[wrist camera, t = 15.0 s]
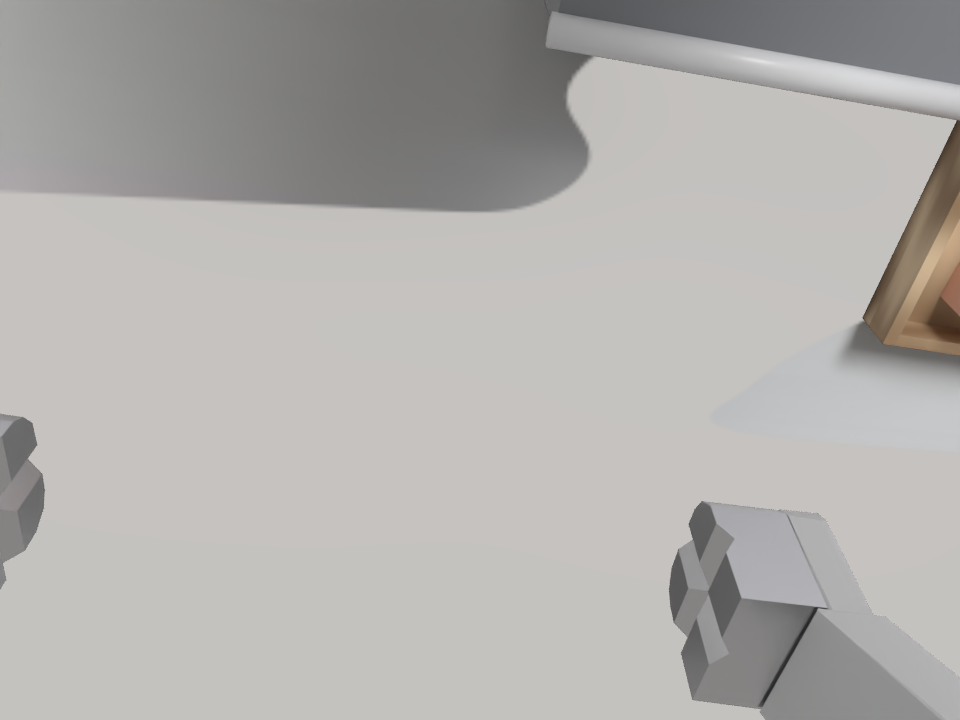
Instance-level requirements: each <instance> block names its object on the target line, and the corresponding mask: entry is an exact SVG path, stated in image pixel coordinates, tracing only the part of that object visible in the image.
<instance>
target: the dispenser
mask: <svg viewBox="0 0 960 720" xmlns="http://www.w3.org/2000/svg"><path fill="white" fill-rule="evenodd" d="M545 5H546V8H547V10H548V13H549V16H550V19H549V24H548V29H547V35H546V44H545V46H546V48H551V49H557V50H563V51H568V52H574V53H580V54H585V55H591V56H597V57H602V58H608V59H614V60H619V61H625V62H631V63H637V64H642V65H648V66H653V67H659V68H665V69H671V70H676V71H682V72H688V73H693V74H699V75H704V76H710V77H716V78H721V79H727V80H733V81H739V82H744V83H750V84H756V85H761V86H768V87H773V88H779V89H784V90H790V91H795V92H801V93H807V94H813V95H818V96H823V97H830V98H835V99H840V100H846V101H852V102H857V103H863V104H868V105H874V106H880V107H885V108H891V109H897V110H902V111H908V112H914V113H919V114H925V115H931V116H936V117H942V118H948V119H954V120H959V121H960V0H545Z"/></svg>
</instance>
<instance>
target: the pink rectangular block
mask: <svg viewBox="0 0 960 720" xmlns="http://www.w3.org/2000/svg"><path fill="white" fill-rule="evenodd" d="M940 297H941V298H942V299H943V300H944V301H945V302H946V303H947V304H948V305H949V306H950V307H951V308H952V309H953V310H954V311H955V312H956V313H957V314H958V315H959V316H960V261H959V263H958V265H957V267H956V268H955V270H954V272H953V274H952V275H951V277H950V279H949V281H948V283H947V284H946V286H945V288H944V290H943V291H942V293H941V295H940Z"/></svg>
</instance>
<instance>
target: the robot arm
mask: <svg viewBox="0 0 960 720" xmlns="http://www.w3.org/2000/svg"><path fill="white" fill-rule="evenodd" d="M36 446H37V442H36V437H35V433H34V428H33V424H32V423H31V422H30V421H28V420H27V419H25V418H23V417H17V416H11V415H4V414H0V589H1V587H2V586H3V584H4V582H5V581H6V576H5V572H4V567H3V563H4V562H5V561H7V560H9V559H11V558H12V557H14V556H16V555H18V554H20V553H21V552H23V551H25V549H26V548H27V546H28V544H29V543H30V541H31V539H32V538H33V536H34V534H35V533H36V530H37V527H38V524H39V521H40V518H41V515H42V512H43V508H44V492H45V489H44V483H43V476H42V473H41V472H40V471H39V470H38V469H37V468H36V467H35V466H34V465H33V464H32V463H31V462H30V461H29V460H28V457H29V456H30V454H31V453H32V452H33V450H34V449H35V447H36ZM689 527H690V530H691V534H692V538H693V540H692V541H690V542H689V543H687V544H686V545H684V546H683V547H681V548H680V549H678V552H677V555H676V558H675V560H674V563H673V566H672V571H671V578H670V587H669V594H670V607H671V611H672V615H673V621H674V623H675V624H676V625H677V626H678V628H680V630H681V631H682V632H683V633H684V634H685V635H686V636H687V637H688V638H687V640H686V643H685V645H684V647H683V650H682V652H681V655H682V659H683V663H684V667H685V671H686V675H687V679H688V683H689V688H690V691H691V696H692V700H697V701H704V702H712V703H719V704H726V705H734V706H742V707H749V708H758V709H761V711H760V713H761V715H762V716H763V717H764V718H765V720H960V677H959V676H957V675H956V674H955V673H954V672H953V671H951V670H950V669H949V668H948V667H946V666H945V665H944V664H943V663H942V662H940V661H939V660H938V659H937V658H935V657H934V656H933V655H932V654H931V653H929V652H928V651H927V650H926V649H924V648H923V647H922V646H921V645H920V644H918V643H917V642H916V641H915V640H913V639H912V638H911V637H910V636H908V635H907V634H906V633H905V632H904V631H902V630H901V629H900V628H899V627H897V626H896V625H895V624H894V623H893V622H891V621H890V620H889V619H888V618H886V617H884V616H877V615H873V613H872V611H871V609H870V607H869V605H868V603H867V601H866V599H865V597H864V595H863V593H862V591H861V589H860V587H859V585H858V583H857V581H856V579H855V577H854V575H853V573H852V571H851V569H850V567H849V565H848V563H847V561H846V559H845V557H844V555H843V553H842V551H841V549H840V547H839V545H838V543H837V541H836V539H835V537H834V535H833V533H832V531H831V529H830V527H829V525H828V523H827V521H826V520H825V519H824V518H823V517H822V516H821V515H819V514H818V513H808V512H798V511H789V510H778V511H777V510H772V509H763V508H755V507H746V506H737V505H729V504H721V503H712V502H703V501H702V502H701V503H700V504H699V505H698V506H697V507H696V509H695V510H694V513H693V515H692V517H691V520H690V522H689Z"/></svg>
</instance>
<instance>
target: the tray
mask: <svg viewBox="0 0 960 720" xmlns="http://www.w3.org/2000/svg"><path fill="white" fill-rule="evenodd" d="M959 261H960V121H959V120H957V122H956V124H955V126H954V128H953V130H952V132H951V134H950V136H949V138H948V140H947V143H946V145H945V147H944V149H943V151H942V153H941V155H940V157H939V159H938V161H937V163H936V165H935V168H934V170H933V172H932V174H931V176H930V178H929V180H928V182H927V184H926V186H925V188H924V191H923V193H922V195H921V197H920V199H919V201H918V204H917V205H916V207H915V209H914V211H913V214H912V216H911V218H910V220H909V222H908V224H907V226H906V228H905V231H904V232H903V234H902V236H901V239H900V241H899V243H898V245H897V247H896V249H895V251H894V253H893V255H892V258H891V260H890V262H889V264H888V266H887V268H886V270H885V272H884V274H883V276H882V278H881V280H880V282H879V285H878V287H877V289H876V291H875V293H874V295H873V297H872V299H871V301H870V304H869V305H868V307H867V310H866V312H865V314H864V316H863V319H864V321H865V322H866V323H867V324H868V326H869V327H870V328H871V330H872V331H873V332H874V333H875V335H876V336H877V337H878V338H879V340H880V341H881V342H882V344H886V345H893V346H900V347H906V348H913V349H920V350H926V351H933V352H940V353H946V354H953V355H960V316H959V315H958V314H957V313H956V312H955V311H954V310H953V309H952V308H951V307H950V306H949V305H948V304H947V303H946V302H945V301H944V300H943V299H942V298H941V297H940V295H941V293H942V291H943V290H944V288H945V286H946V284H947V283H948V281H949V279H950V277H951V275H952V274H953V272H954V270H955V268H956V267H957V265H958V263H959Z"/></svg>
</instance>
